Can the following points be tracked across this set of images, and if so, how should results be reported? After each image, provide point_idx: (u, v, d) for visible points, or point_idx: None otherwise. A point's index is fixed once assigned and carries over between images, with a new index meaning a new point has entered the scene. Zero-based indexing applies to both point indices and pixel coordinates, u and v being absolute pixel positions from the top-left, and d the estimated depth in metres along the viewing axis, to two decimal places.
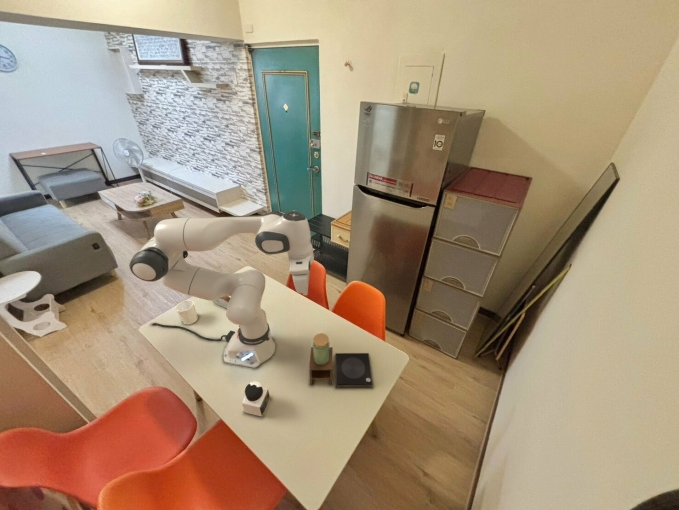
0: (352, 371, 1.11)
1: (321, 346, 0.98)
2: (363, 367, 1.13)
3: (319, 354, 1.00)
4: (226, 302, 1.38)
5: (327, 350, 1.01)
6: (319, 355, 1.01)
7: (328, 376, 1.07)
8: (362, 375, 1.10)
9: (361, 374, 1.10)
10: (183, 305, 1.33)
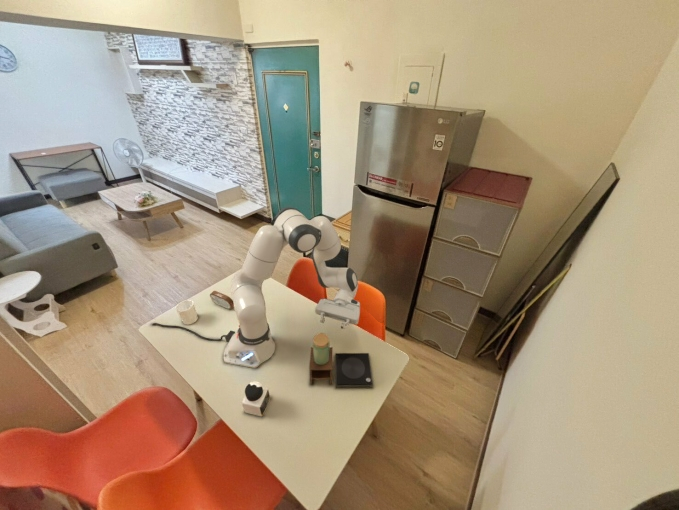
0: (352, 371, 1.11)
1: (321, 346, 0.98)
2: (363, 367, 1.13)
3: (319, 354, 1.00)
4: (226, 302, 1.38)
5: (327, 350, 1.01)
6: (319, 355, 1.01)
7: (328, 376, 1.07)
8: (362, 375, 1.10)
9: (361, 374, 1.10)
10: (183, 305, 1.33)
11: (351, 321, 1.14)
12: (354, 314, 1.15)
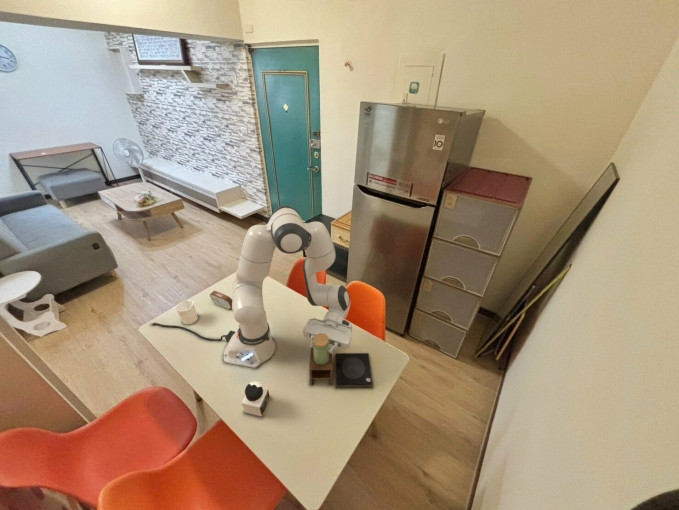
0: (352, 371, 1.11)
1: (321, 346, 0.98)
2: (363, 367, 1.13)
3: (319, 354, 1.00)
4: (226, 302, 1.38)
5: (327, 350, 1.01)
6: (319, 355, 1.01)
7: (328, 376, 1.07)
8: (362, 375, 1.10)
9: (361, 374, 1.10)
10: (183, 305, 1.33)
11: (342, 345, 1.04)
12: (345, 338, 1.05)
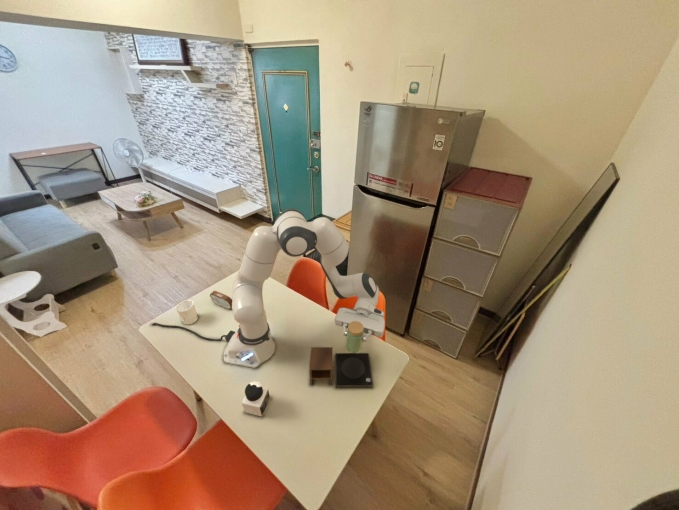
0: (352, 371, 1.11)
1: (356, 334, 0.96)
2: (363, 367, 1.13)
3: (354, 342, 0.98)
4: (226, 302, 1.38)
5: (362, 338, 0.99)
6: (353, 343, 0.99)
7: (328, 376, 1.07)
8: (362, 375, 1.10)
9: (361, 374, 1.10)
10: (183, 305, 1.33)
11: (375, 333, 1.02)
12: (378, 326, 1.03)
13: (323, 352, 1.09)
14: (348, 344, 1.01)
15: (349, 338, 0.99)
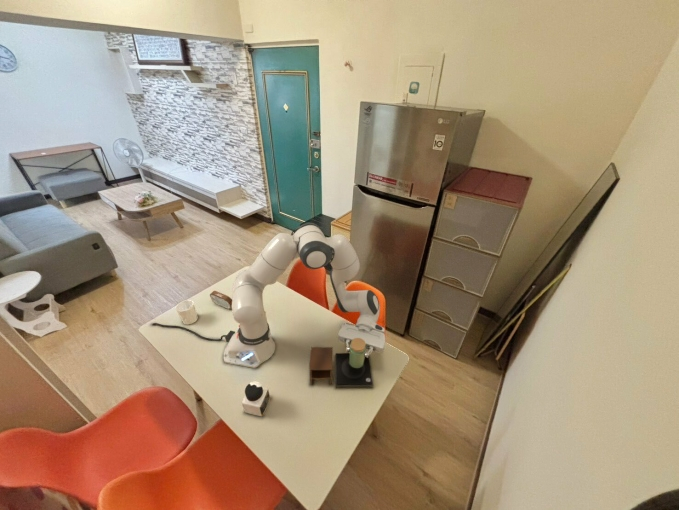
0: (352, 371, 1.11)
1: (359, 350, 1.02)
2: (363, 367, 1.13)
3: (356, 358, 1.04)
4: (226, 302, 1.38)
5: (364, 354, 1.05)
6: (356, 359, 1.05)
7: (328, 376, 1.07)
8: (362, 375, 1.10)
9: (361, 374, 1.10)
10: (183, 305, 1.33)
11: (377, 349, 1.08)
12: (379, 342, 1.09)
13: (323, 352, 1.09)
14: (351, 360, 1.07)
15: (352, 354, 1.04)
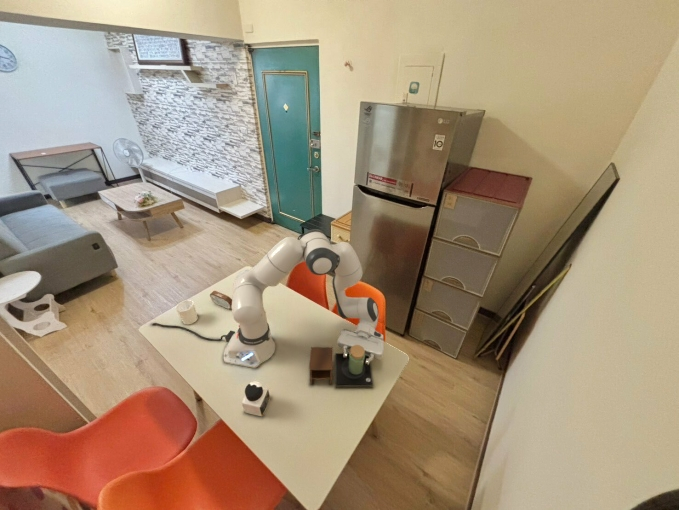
0: None
1: (358, 357, 1.04)
2: (363, 367, 1.13)
3: (356, 364, 1.06)
4: (226, 302, 1.38)
5: (363, 361, 1.07)
6: (355, 366, 1.07)
7: (328, 376, 1.07)
8: (362, 375, 1.10)
9: (361, 374, 1.10)
10: (183, 305, 1.33)
11: (375, 356, 1.10)
12: (378, 349, 1.11)
13: (323, 352, 1.09)
14: (350, 366, 1.09)
15: (351, 361, 1.07)
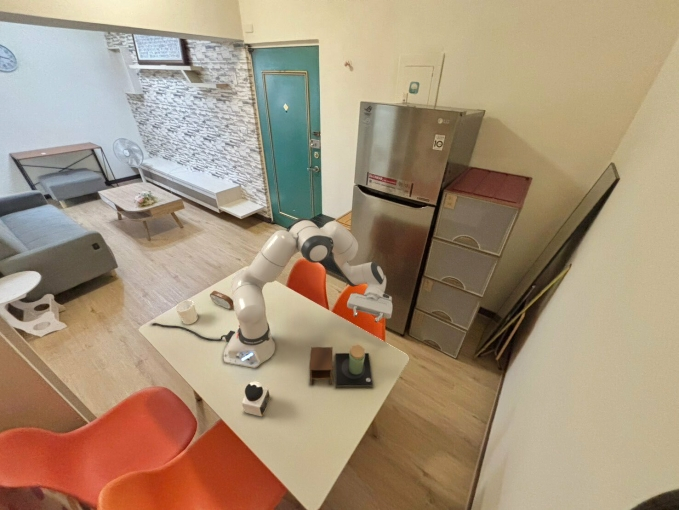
0: None
1: (358, 357, 1.04)
2: (363, 367, 1.13)
3: (356, 364, 1.06)
4: (226, 302, 1.38)
5: (363, 361, 1.07)
6: (355, 366, 1.07)
7: (328, 376, 1.07)
8: (362, 375, 1.10)
9: (361, 374, 1.10)
10: (183, 305, 1.33)
11: (384, 315, 1.14)
12: (387, 308, 1.15)
13: (323, 352, 1.09)
14: (350, 366, 1.09)
15: (351, 361, 1.07)
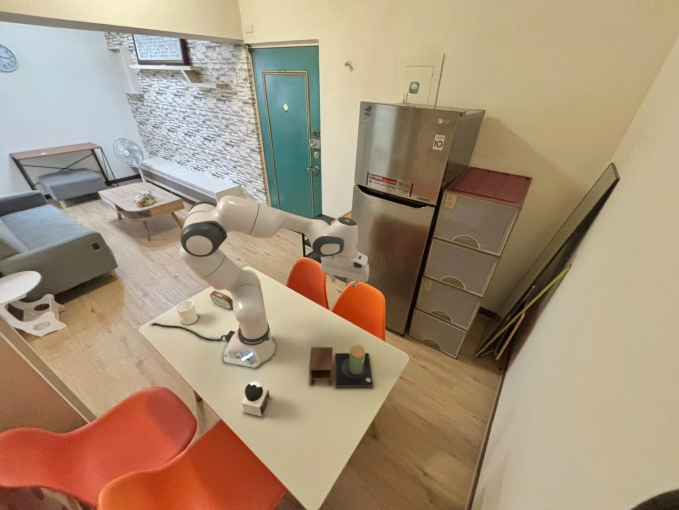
0: None
1: (358, 357, 1.04)
2: (363, 367, 1.13)
3: (356, 364, 1.06)
4: (226, 302, 1.38)
5: (363, 361, 1.07)
6: (355, 366, 1.07)
7: (328, 376, 1.07)
8: (362, 375, 1.10)
9: (361, 374, 1.10)
10: (183, 305, 1.33)
11: None
12: (361, 277, 1.04)
13: (323, 352, 1.09)
14: (350, 366, 1.09)
15: (351, 361, 1.07)
